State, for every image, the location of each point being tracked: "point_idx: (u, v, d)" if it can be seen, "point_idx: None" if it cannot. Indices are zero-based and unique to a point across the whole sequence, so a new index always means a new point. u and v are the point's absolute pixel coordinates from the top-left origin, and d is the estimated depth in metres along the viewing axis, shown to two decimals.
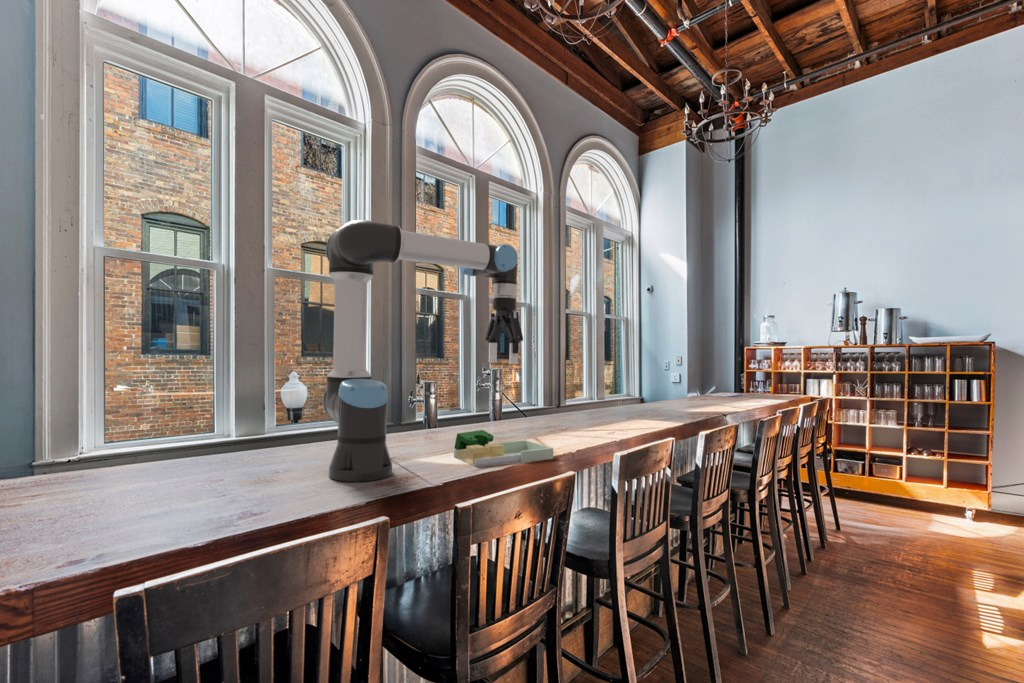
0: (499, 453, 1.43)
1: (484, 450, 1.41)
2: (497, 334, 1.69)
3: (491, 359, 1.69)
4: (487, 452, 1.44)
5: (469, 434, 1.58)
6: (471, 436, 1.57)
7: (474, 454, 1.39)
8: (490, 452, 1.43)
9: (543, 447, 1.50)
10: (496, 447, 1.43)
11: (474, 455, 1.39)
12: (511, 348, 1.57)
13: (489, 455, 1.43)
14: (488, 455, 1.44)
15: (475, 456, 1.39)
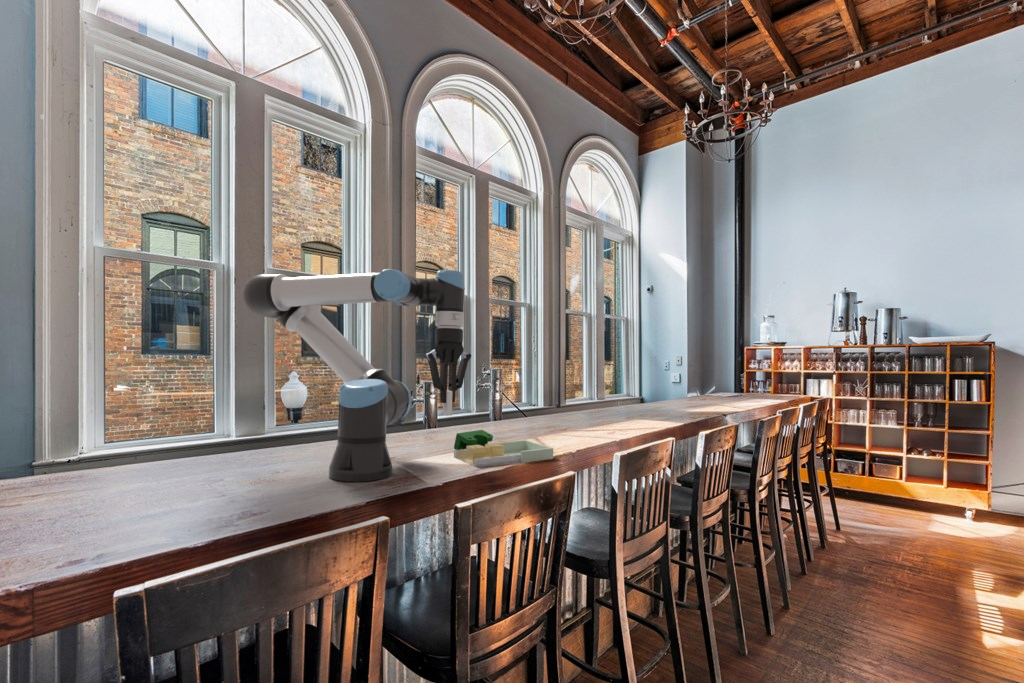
0: (499, 453, 1.43)
1: (484, 450, 1.41)
2: (451, 376, 1.37)
3: None
4: (487, 452, 1.44)
5: (469, 434, 1.58)
6: (470, 435, 1.57)
7: (474, 454, 1.39)
8: (490, 452, 1.43)
9: (543, 447, 1.50)
10: (496, 447, 1.43)
11: (474, 455, 1.39)
12: None
13: (489, 455, 1.43)
14: (488, 455, 1.44)
15: (475, 456, 1.39)
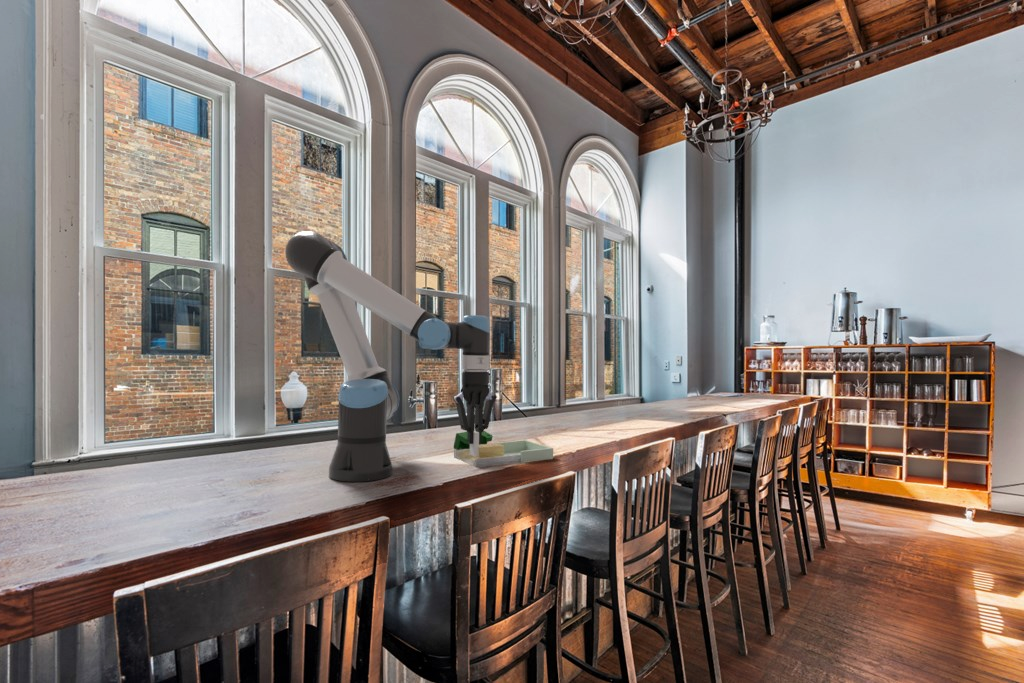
0: (500, 453, 1.44)
1: (490, 449, 1.42)
2: (477, 417, 1.41)
3: None
4: None
5: None
6: None
7: (480, 453, 1.40)
8: None
9: (543, 447, 1.50)
10: (496, 447, 1.43)
11: (480, 454, 1.40)
12: None
13: None
14: None
15: (481, 456, 1.40)
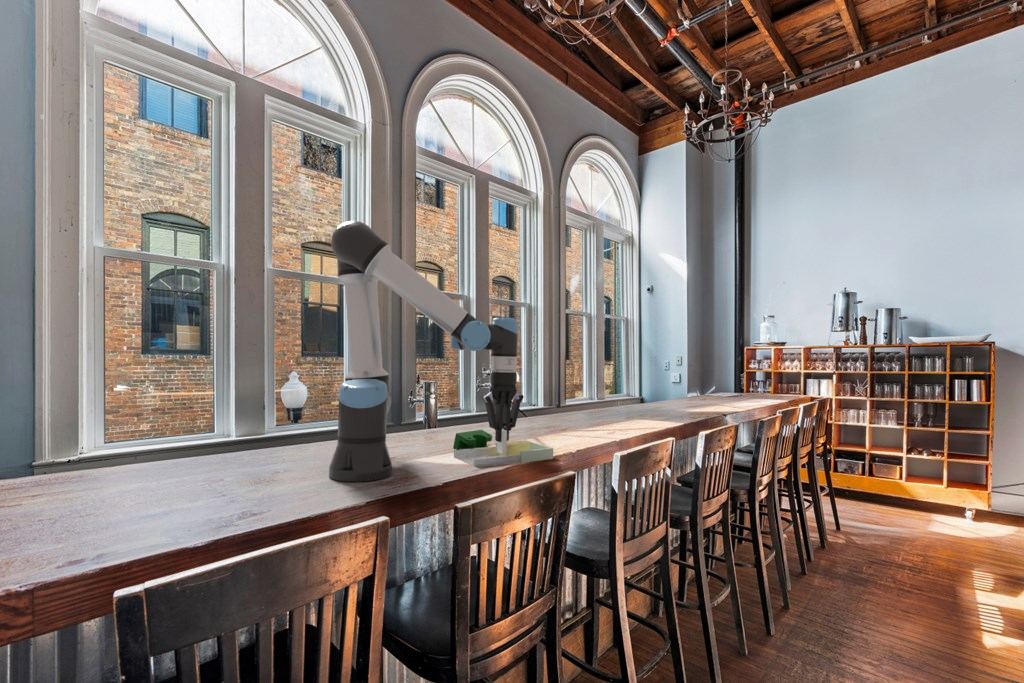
0: None
1: (517, 447, 1.47)
2: (505, 416, 1.46)
3: None
4: None
5: (468, 433, 1.58)
6: (469, 435, 1.57)
7: (508, 450, 1.45)
8: None
9: (543, 447, 1.50)
10: (523, 444, 1.48)
11: (508, 451, 1.45)
12: None
13: None
14: None
15: (509, 453, 1.45)
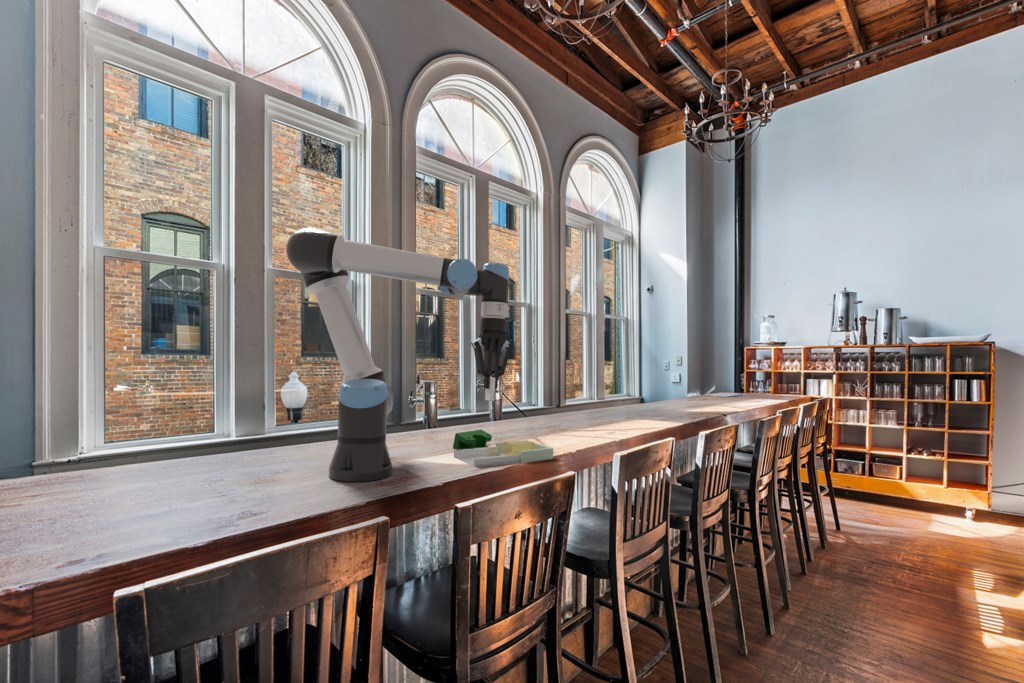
0: None
1: (522, 446, 1.48)
2: (494, 363, 1.44)
3: None
4: None
5: (468, 433, 1.59)
6: (469, 435, 1.57)
7: (513, 449, 1.46)
8: None
9: (543, 447, 1.50)
10: (527, 444, 1.49)
11: (512, 451, 1.46)
12: None
13: None
14: None
15: (513, 452, 1.46)
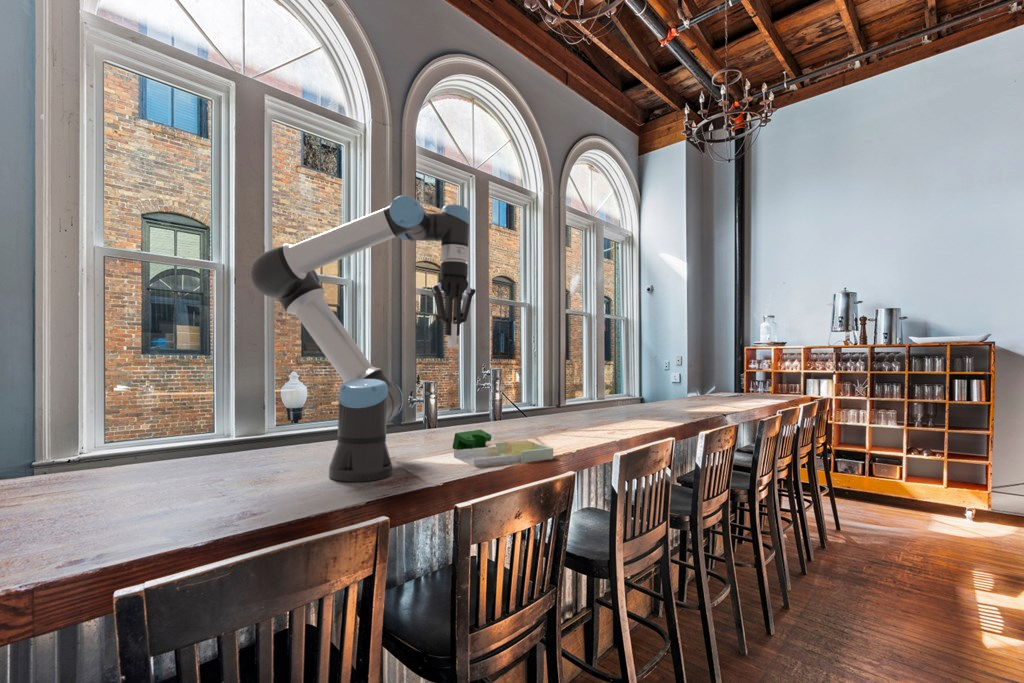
0: None
1: (522, 446, 1.48)
2: (456, 309, 1.40)
3: None
4: None
5: (467, 433, 1.59)
6: (469, 435, 1.57)
7: (513, 449, 1.46)
8: None
9: (543, 447, 1.50)
10: (527, 444, 1.49)
11: (512, 451, 1.46)
12: None
13: None
14: None
15: (513, 452, 1.46)
